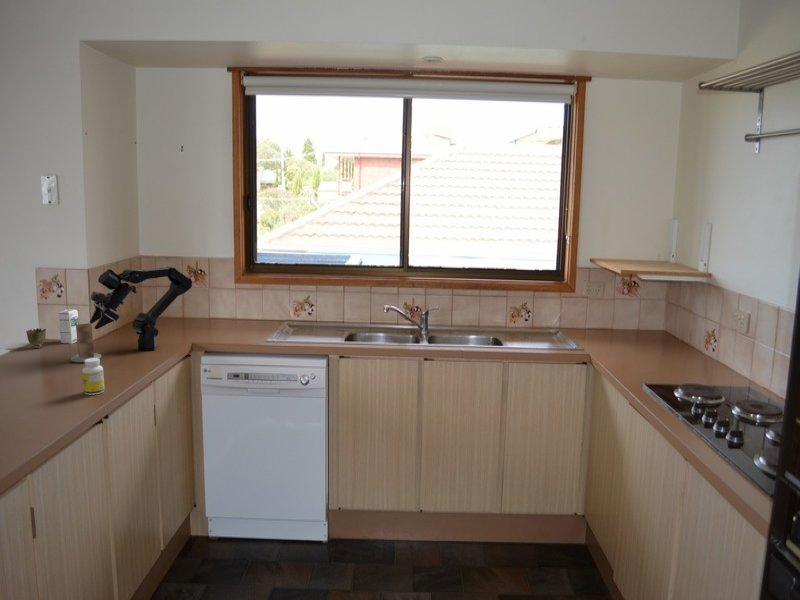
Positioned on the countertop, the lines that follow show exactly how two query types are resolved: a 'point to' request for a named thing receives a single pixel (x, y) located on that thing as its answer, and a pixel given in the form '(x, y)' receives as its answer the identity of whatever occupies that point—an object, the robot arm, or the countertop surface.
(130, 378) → the countertop surface
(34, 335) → the cup
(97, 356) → the dish
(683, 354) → the countertop surface
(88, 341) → the walnut block
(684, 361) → the countertop surface
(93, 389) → the pill bottle
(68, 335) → the syrup box
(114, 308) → the robot arm
